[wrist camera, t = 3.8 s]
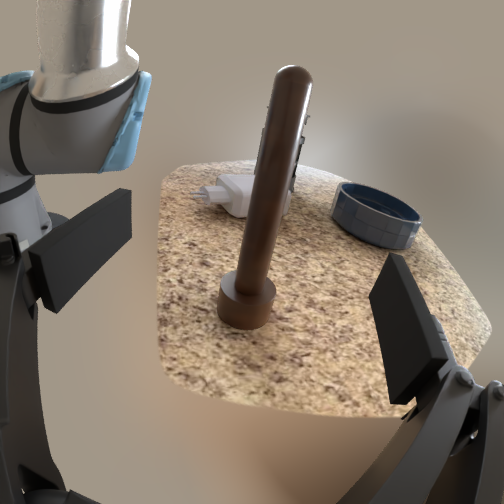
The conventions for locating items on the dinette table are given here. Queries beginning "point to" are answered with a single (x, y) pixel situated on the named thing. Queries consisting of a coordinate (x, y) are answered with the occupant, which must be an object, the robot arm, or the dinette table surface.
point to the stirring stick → (267, 203)
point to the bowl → (375, 216)
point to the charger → (232, 194)
